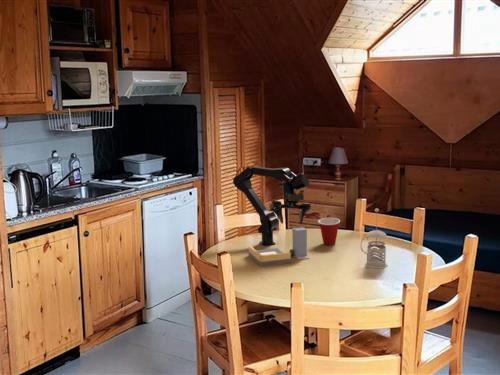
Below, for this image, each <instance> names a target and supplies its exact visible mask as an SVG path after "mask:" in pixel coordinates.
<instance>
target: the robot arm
mask: <svg viewBox="0 0 500 375" xmlns="http://www.w3.org/2000/svg"><path fill="white" fill-rule="evenodd" d="M254 176H261V177H270V178H272V179H274V180H276V181H278V182H280V183H279V184H278V187H279V188H282V200H283V203H282V202H281V201H278V200H273V201H272V202H271V203H270V205H269V210H268V209H267V208H266V206H265V205H264V203H263V201H262V200H261V199H260V197H259V196H258V195H257V193H256V191H255V190H254V189H253V186H252V181H251V179H252V178H253V177H254ZM232 184H233V185H234V186H235V187H236V189H237V190H238V191H240V192H242V193H243V194H244V195H245V197H246V199H247V200H248V202H249V203H250V204H251V206H252V207H253V209H254V210H255V212H256V214H257V215H258V217H259V222H260V224H261V225H260V226H259V227H257V232H258V233H259V234H261V241H259V244H261V245H262V246H271V245H272V246H273V245H276V242H275V241H274V231H276V229H277V227H278V226H279V222H280V223H281V225H283V224H284V217H283V209H287V210H288V209H289V210H290V209H293V210H298V211H299V212H298V218H299V219H298V220H299V224H300V225H302V224H303V221H304V216H305V214H306V213H308V212H309V211H310V210H311V208H312V206H311V204H310V202H301V201H304V198H305V196H304V193H303V192H299V193H298V194H297V193H296V191H301V190H302V189H303V190H304V189H305V188H308V187H309V186H310V180H309V178H308V176H307V175H305V173H304V172H302V173H300V174H298V175H296V174H295V173H294V172H293V171H291V168H289V167H278V168H272V167H271V168H270V167H262V166H256V165H249V166H248V165H247V167H246V168H245V169H244V170H242V171H241V172H240V173H239V174H238V175H235V176H234V177H233V180H232ZM299 202H301V204H300V205H299V204H298V203H299Z"/></svg>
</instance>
